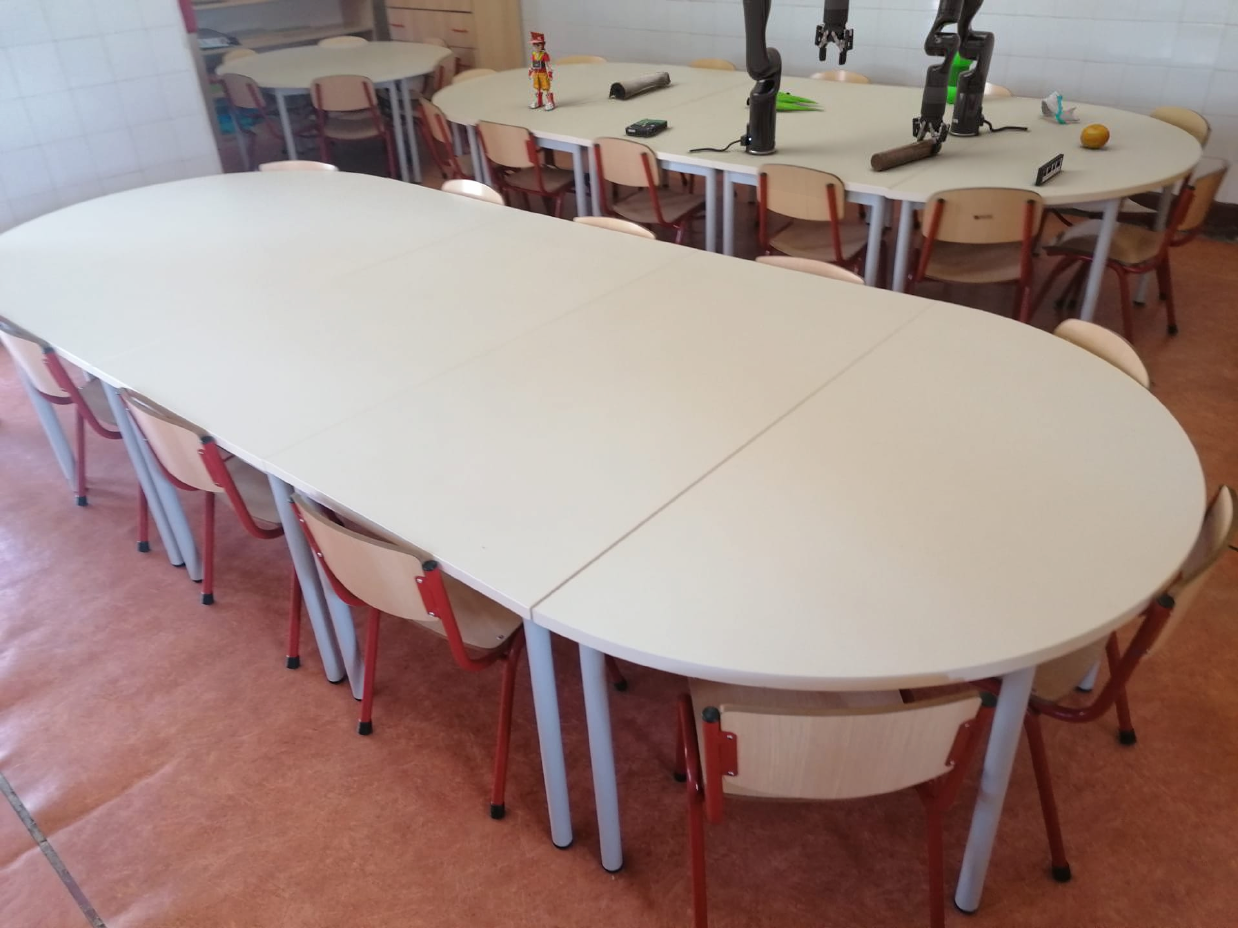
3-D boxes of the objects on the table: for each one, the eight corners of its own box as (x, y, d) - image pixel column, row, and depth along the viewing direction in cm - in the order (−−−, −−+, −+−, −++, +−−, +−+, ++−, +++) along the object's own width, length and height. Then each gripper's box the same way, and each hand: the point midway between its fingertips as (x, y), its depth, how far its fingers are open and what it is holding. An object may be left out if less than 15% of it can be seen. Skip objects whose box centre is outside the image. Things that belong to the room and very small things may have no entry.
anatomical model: (1035, 91, 328) (1062, 83, 328) (1034, 119, 334) (1061, 112, 334) (1054, 100, 316) (1083, 93, 315) (1053, 130, 322) (1081, 122, 321)
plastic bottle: (973, 101, 354) (984, 32, 339) (955, 106, 349) (966, 36, 335) (952, 97, 361) (962, 29, 346) (934, 102, 356) (944, 33, 342)
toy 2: (737, 109, 358) (807, 121, 345) (739, 95, 355) (810, 107, 342) (766, 99, 378) (833, 110, 366) (767, 86, 375) (835, 96, 363)
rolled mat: (651, 76, 408) (662, 61, 399) (662, 93, 408) (674, 79, 400) (605, 92, 391) (616, 77, 383) (617, 110, 391) (628, 95, 383)
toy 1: (525, 109, 381) (517, 32, 364) (534, 104, 388) (527, 28, 371) (550, 110, 377) (543, 32, 360) (559, 105, 384) (553, 28, 367)
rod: (927, 152, 303) (930, 135, 300) (940, 155, 299) (943, 138, 296) (869, 169, 291) (871, 152, 288) (882, 172, 287) (884, 155, 284)
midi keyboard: (1039, 185, 269) (1043, 168, 266) (1035, 184, 270) (1038, 168, 267) (1060, 170, 279) (1064, 154, 277) (1056, 169, 280) (1060, 153, 277)
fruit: (1076, 138, 294) (1094, 116, 291) (1073, 141, 302) (1090, 120, 299) (1098, 153, 293) (1116, 131, 290) (1095, 155, 300) (1112, 134, 297)
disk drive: (648, 138, 335) (668, 127, 345) (648, 130, 333) (667, 120, 343) (625, 135, 340) (644, 125, 350) (624, 127, 338) (644, 117, 348)
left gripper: (811, 5, 278) (807, 61, 287) (844, 10, 268) (839, 68, 277) (828, 2, 281) (824, 58, 291) (862, 6, 271) (857, 64, 281)
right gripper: (909, 98, 293) (902, 151, 302) (944, 105, 283) (936, 160, 292) (924, 94, 296) (917, 146, 306) (960, 101, 286) (951, 155, 296)
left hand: (832, 63), depth 284 cm, fingers open, 8 cm apart
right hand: (926, 152), depth 299 cm, fingers closed on rod, 5 cm apart
